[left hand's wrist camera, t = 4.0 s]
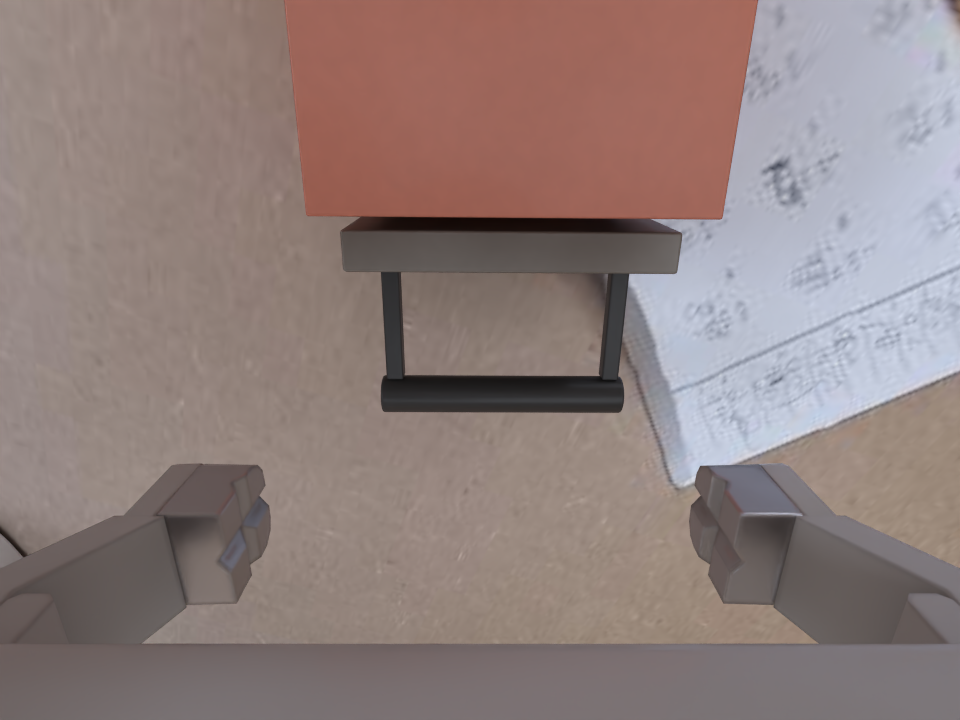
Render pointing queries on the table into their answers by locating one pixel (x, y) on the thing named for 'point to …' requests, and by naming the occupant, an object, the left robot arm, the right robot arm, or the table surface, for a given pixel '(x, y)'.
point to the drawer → (507, 251)
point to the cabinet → (518, 106)
